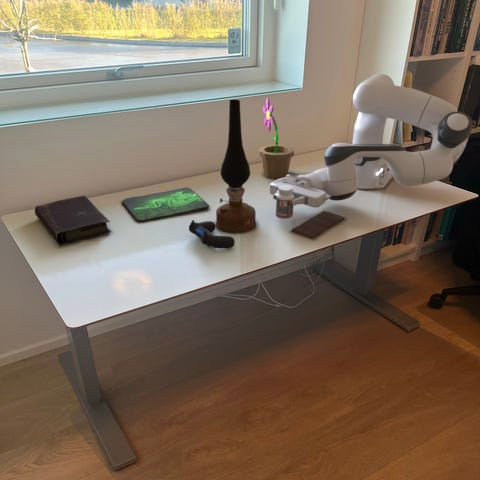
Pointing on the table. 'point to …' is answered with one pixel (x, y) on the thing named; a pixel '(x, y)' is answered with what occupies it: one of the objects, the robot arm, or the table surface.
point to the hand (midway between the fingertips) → (283, 200)
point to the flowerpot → (274, 151)
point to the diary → (72, 220)
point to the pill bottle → (284, 202)
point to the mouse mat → (164, 204)
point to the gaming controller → (210, 235)
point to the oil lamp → (235, 180)
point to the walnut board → (318, 224)
